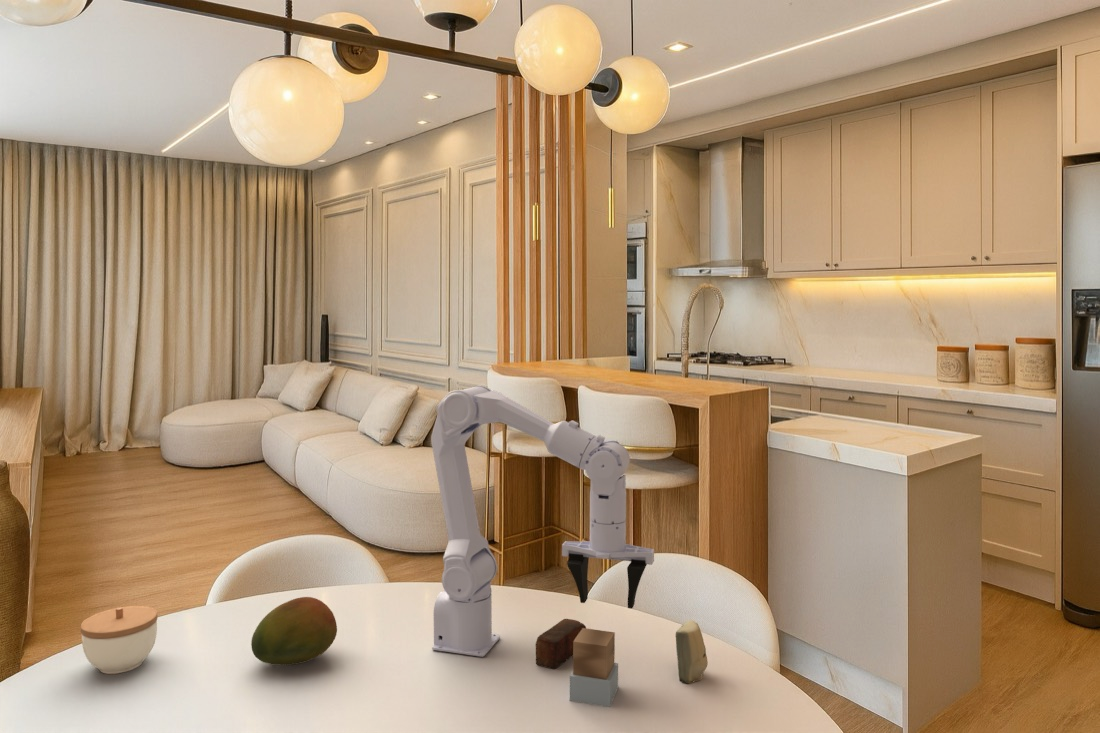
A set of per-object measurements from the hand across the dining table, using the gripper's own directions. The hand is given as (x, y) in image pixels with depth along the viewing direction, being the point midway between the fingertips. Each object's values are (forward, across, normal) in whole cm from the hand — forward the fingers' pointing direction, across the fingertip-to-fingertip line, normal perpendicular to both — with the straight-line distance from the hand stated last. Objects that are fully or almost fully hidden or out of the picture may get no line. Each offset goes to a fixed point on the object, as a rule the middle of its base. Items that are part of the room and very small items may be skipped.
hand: (607, 603), depth 120 cm
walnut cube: (+7, 0, -9) cm, 11 cm away
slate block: (+11, 0, -9) cm, 14 cm away
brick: (+11, -8, +2) cm, 14 cm away
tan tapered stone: (+11, +13, +1) cm, 17 cm away
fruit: (+11, -49, -13) cm, 52 cm away
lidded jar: (+11, -75, -22) cm, 79 cm away
